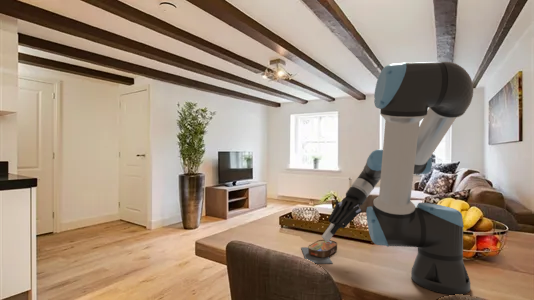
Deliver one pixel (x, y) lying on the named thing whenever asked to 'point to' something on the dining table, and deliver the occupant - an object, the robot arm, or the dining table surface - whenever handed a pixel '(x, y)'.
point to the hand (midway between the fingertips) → (324, 239)
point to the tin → (322, 248)
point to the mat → (315, 259)
